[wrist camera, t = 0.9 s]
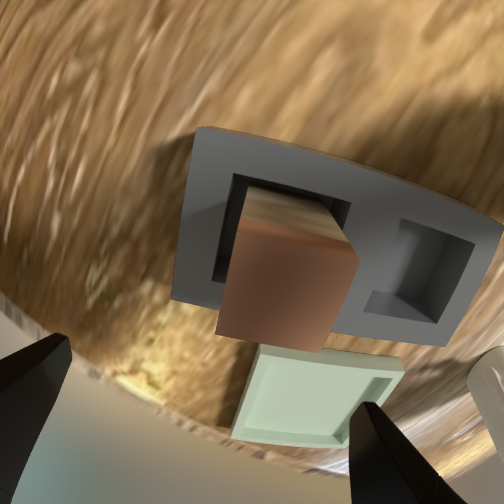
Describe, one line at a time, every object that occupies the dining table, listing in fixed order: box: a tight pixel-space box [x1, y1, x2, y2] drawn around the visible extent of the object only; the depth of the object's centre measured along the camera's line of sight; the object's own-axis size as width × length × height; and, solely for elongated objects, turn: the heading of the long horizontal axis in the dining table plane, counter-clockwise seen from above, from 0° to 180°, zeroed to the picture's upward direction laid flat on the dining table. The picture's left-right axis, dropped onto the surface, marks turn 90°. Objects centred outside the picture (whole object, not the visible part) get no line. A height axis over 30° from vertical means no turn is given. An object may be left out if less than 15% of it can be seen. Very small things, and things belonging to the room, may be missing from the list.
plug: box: [215, 181, 361, 353], centre depth 14 cm, size 4×4×8 cm
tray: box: [230, 343, 405, 448], centre depth 24 cm, size 12×12×2 cm
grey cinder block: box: [171, 126, 504, 347], centre depth 17 cm, size 18×9×4 cm, turn 77°
